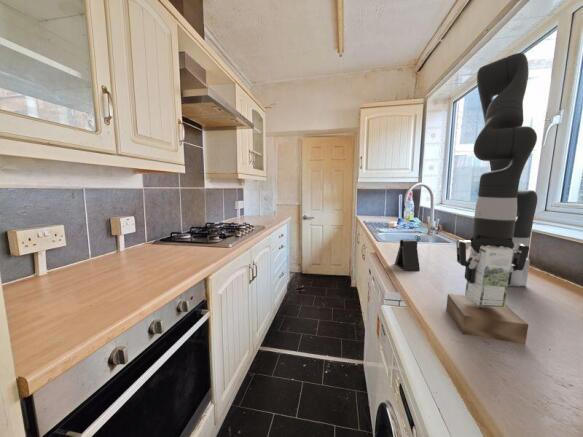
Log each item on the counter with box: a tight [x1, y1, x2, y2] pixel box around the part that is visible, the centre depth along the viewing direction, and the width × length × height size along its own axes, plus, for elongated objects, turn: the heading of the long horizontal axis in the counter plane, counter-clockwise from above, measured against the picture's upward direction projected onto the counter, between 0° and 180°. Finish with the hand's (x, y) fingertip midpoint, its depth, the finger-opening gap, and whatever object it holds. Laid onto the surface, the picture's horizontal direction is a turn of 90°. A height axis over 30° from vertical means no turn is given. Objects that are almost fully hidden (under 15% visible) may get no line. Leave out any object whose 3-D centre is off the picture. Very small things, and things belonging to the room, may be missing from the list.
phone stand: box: [394, 239, 421, 272], centre depth 102 cm, size 9×6×12 cm, turn 4°
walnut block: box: [445, 293, 529, 345], centre depth 61 cm, size 12×12×5 cm
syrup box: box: [464, 245, 513, 307], centre depth 59 cm, size 6×6×14 cm
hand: (486, 283), depth 59 cm, fingers closed on syrup box, 6 cm apart
